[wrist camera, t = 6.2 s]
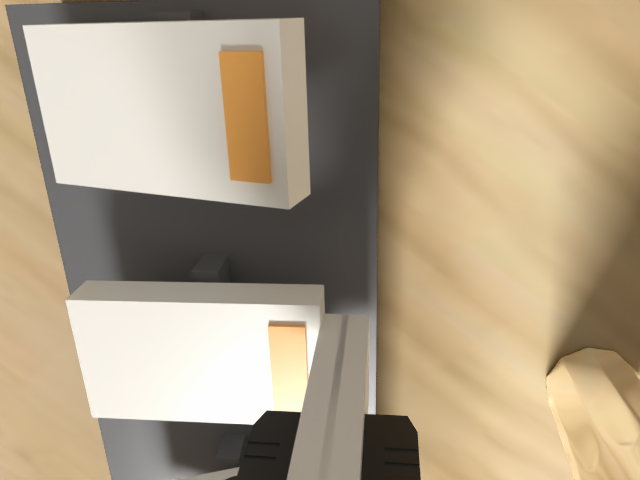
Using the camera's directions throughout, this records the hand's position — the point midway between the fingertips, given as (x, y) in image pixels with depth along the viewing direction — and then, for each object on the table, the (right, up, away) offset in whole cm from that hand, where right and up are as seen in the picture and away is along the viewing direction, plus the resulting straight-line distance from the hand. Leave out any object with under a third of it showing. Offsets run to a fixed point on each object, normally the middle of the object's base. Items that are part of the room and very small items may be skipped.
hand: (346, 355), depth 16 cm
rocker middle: (-4, 0, +1) cm, 4 cm away
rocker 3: (-4, +7, -2) cm, 8 cm away
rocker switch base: (-4, +2, +5) cm, 6 cm away
